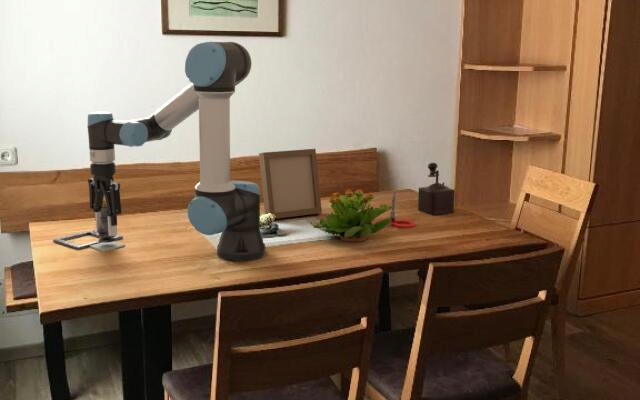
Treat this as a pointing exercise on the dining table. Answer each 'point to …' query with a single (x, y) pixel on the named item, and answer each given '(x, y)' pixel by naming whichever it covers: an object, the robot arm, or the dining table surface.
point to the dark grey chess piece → (104, 226)
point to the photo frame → (290, 183)
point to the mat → (107, 246)
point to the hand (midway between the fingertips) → (106, 233)
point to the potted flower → (353, 217)
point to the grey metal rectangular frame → (92, 232)
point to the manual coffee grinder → (436, 196)
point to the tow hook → (394, 221)
